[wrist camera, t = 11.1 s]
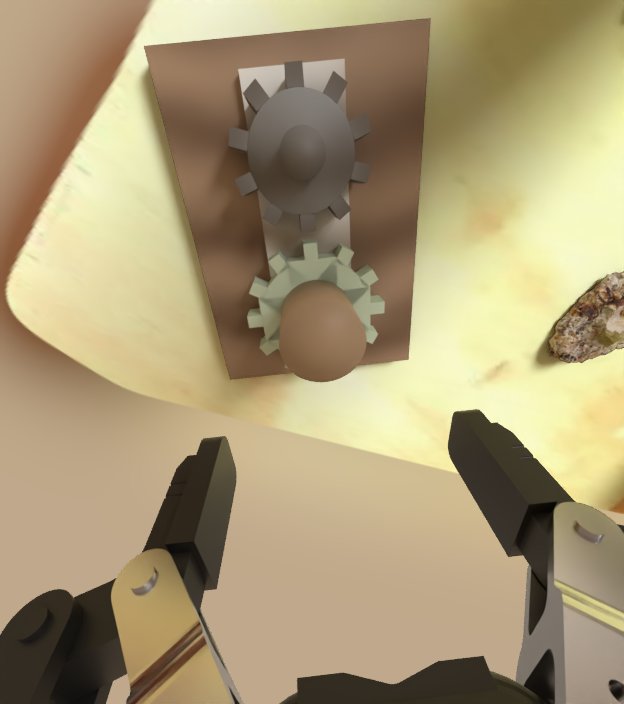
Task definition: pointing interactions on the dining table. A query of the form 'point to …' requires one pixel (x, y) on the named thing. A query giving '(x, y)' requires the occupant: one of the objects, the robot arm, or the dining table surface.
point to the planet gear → (316, 312)
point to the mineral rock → (592, 323)
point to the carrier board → (238, 216)
